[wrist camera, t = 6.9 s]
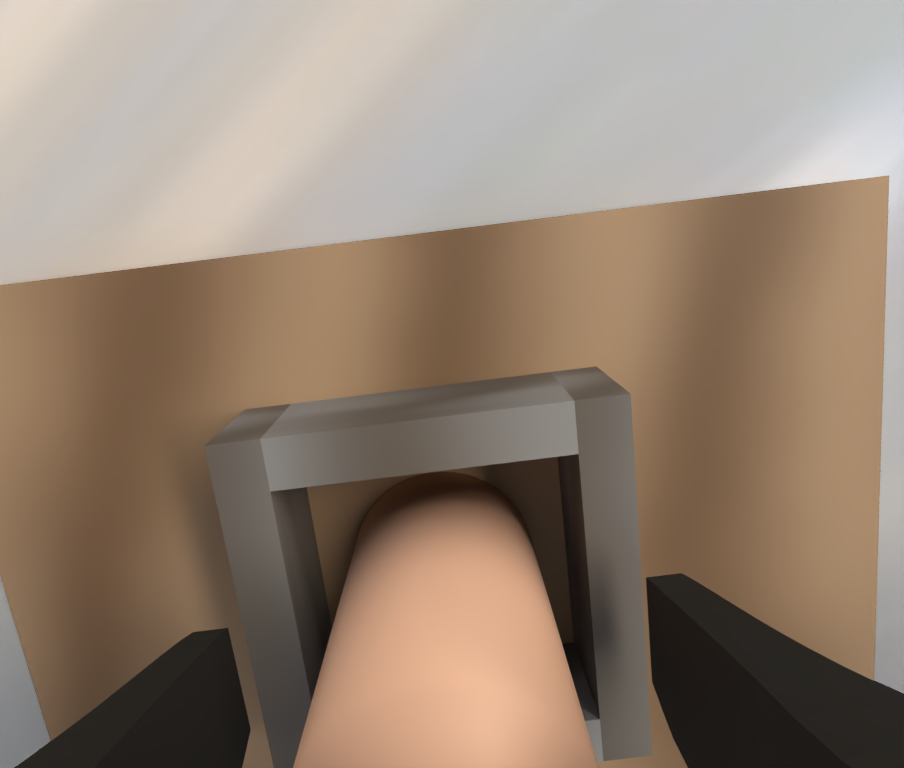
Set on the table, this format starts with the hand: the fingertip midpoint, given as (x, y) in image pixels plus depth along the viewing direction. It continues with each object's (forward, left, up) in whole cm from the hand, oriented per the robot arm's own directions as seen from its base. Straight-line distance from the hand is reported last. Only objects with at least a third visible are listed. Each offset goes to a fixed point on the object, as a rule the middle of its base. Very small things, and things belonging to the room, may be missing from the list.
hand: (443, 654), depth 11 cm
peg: (0, 0, -4) cm, 4 cm away
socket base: (0, 0, -5) cm, 5 cm away
